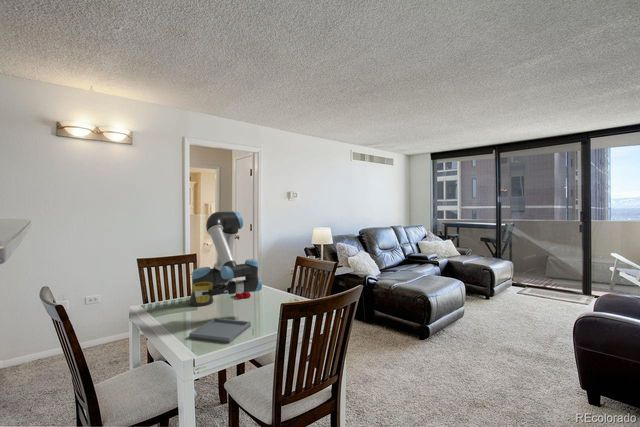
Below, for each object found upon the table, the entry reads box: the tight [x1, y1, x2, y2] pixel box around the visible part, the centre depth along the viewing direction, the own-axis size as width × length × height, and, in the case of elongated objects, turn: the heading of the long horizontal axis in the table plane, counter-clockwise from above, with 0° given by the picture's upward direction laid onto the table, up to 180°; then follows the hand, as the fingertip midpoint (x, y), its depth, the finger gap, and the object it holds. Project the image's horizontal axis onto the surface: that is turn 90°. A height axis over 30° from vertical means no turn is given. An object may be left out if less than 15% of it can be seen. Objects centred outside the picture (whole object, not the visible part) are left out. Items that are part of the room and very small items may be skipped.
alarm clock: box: [234, 292, 251, 300], centre depth 227 cm, size 10×6×15 cm
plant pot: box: [193, 282, 213, 303], centre depth 177 cm, size 10×10×10 cm
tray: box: [189, 317, 252, 344], centre depth 164 cm, size 22×22×2 cm
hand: (194, 291), depth 176 cm, fingers closed on plant pot, 10 cm apart
